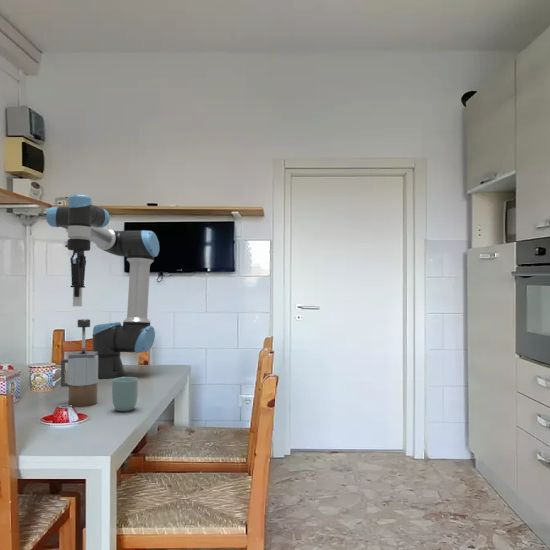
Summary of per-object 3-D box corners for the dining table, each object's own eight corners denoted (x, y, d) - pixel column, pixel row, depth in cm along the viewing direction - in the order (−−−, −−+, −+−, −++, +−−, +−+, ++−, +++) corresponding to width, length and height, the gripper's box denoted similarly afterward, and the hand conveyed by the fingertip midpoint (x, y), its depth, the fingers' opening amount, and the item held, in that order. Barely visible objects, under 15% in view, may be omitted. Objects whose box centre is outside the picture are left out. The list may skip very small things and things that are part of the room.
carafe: (64, 401, 171) (64, 351, 171) (98, 400, 173) (99, 351, 173) (57, 407, 162) (58, 355, 163) (94, 406, 164) (95, 354, 165)
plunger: (74, 358, 171) (75, 319, 171) (95, 358, 172) (96, 318, 172) (70, 361, 164) (70, 320, 164) (92, 361, 165) (92, 320, 166)
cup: (130, 413, 155) (130, 381, 155) (107, 412, 157) (107, 380, 157) (141, 407, 163) (142, 377, 163) (119, 406, 164) (120, 376, 165)
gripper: (72, 240, 180) (70, 305, 179) (62, 236, 167) (60, 306, 166) (94, 241, 181) (92, 306, 180) (86, 237, 168) (84, 306, 167)
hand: (77, 306), depth 173 cm, fingers closed
